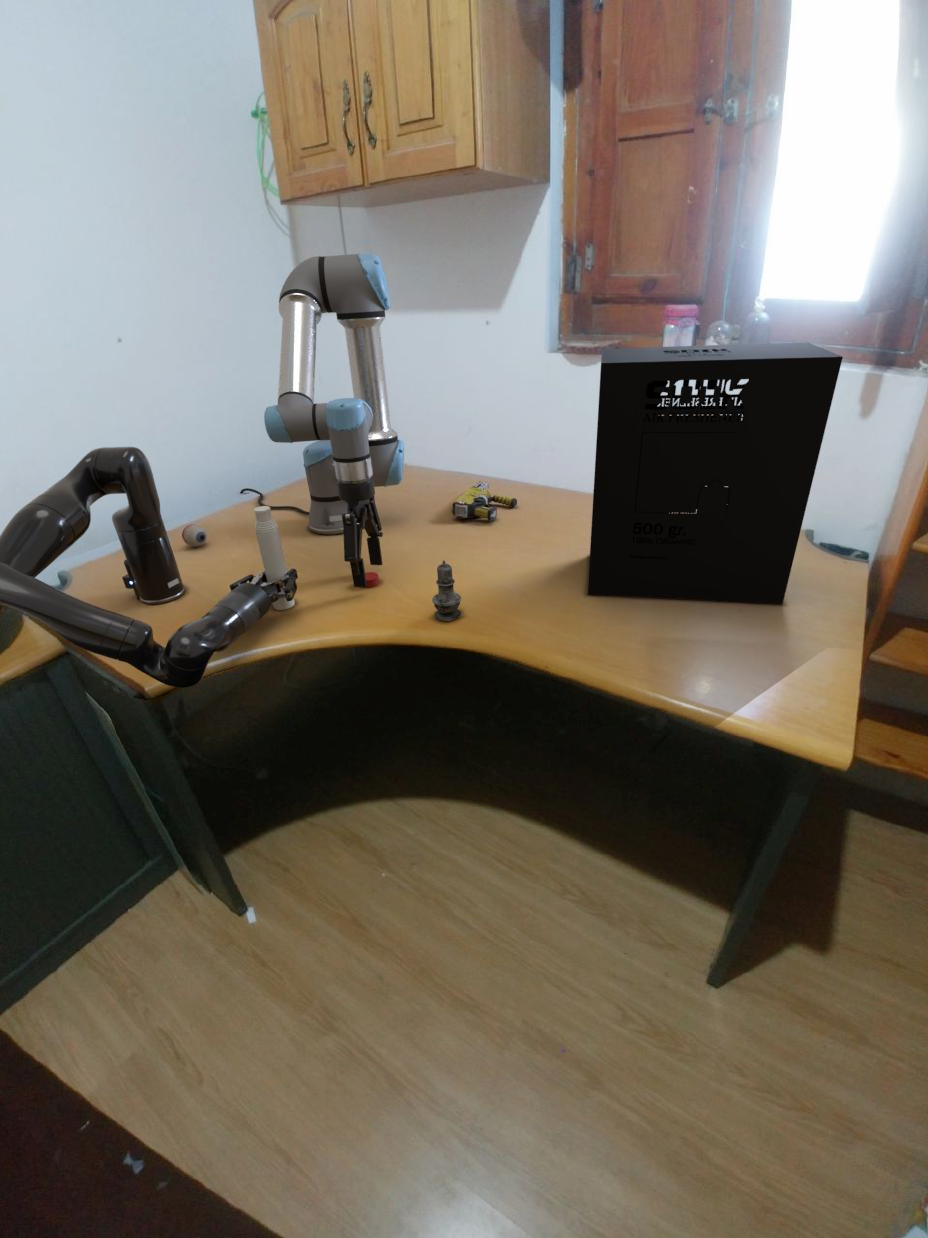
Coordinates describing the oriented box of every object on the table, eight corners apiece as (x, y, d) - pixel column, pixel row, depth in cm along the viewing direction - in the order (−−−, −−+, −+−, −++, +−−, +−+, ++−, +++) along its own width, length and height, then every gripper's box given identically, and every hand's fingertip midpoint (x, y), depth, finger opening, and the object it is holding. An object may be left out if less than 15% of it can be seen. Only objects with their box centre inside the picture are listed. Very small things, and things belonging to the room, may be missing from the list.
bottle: (292, 609, 128) (271, 511, 117) (271, 610, 127) (248, 513, 117) (296, 599, 131) (275, 503, 121) (275, 601, 131) (253, 505, 120)
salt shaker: (459, 622, 119) (455, 567, 113) (430, 620, 120) (425, 566, 114) (464, 608, 124) (461, 554, 118) (437, 606, 125) (432, 553, 119)
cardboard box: (760, 561, 136) (807, 342, 113) (782, 604, 118) (842, 356, 96) (590, 554, 143) (602, 348, 121) (587, 594, 126) (601, 362, 104)
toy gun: (525, 486, 181) (478, 479, 184) (503, 510, 160) (450, 501, 164) (523, 501, 183) (477, 494, 187) (501, 526, 163) (450, 518, 167)
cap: (380, 579, 138) (379, 571, 137) (377, 587, 134) (376, 580, 134) (362, 579, 138) (361, 572, 137) (359, 587, 135) (358, 580, 134)
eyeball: (196, 552, 157) (189, 530, 154) (181, 548, 160) (174, 526, 157) (215, 543, 161) (209, 522, 158) (200, 540, 165) (193, 519, 162)
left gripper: (212, 624, 118) (258, 585, 132) (278, 630, 114) (317, 589, 129) (202, 590, 114) (250, 553, 128) (269, 595, 111) (311, 557, 125)
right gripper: (356, 462, 135) (369, 553, 146) (315, 496, 115) (334, 598, 126) (388, 462, 133) (399, 554, 144) (352, 497, 114) (368, 600, 125)
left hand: (284, 571), depth 128 cm, fingers closed on bottle, 4 cm apart
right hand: (368, 575), depth 135 cm, fingers open, 10 cm apart
